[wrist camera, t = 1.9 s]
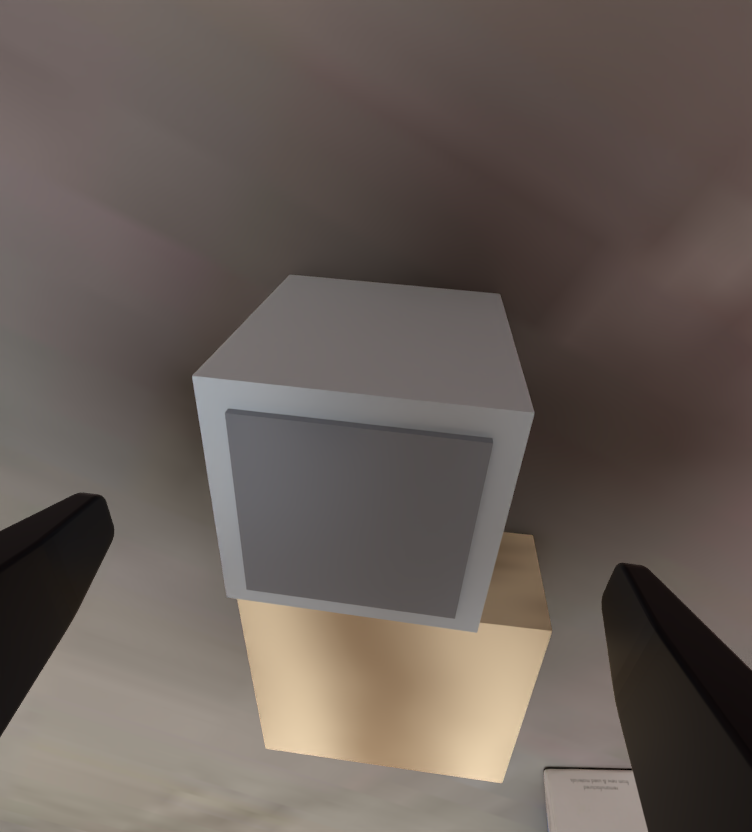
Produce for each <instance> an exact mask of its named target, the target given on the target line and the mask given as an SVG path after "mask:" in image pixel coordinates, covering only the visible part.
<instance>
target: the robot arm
mask: <svg viewBox="0 0 752 832" xmlns="http://www.w3.org/2000/svg"><path fill="white" fill-rule="evenodd" d="M113 537H114V525H113V522H112V519H111V516H110V512H109V509H108V506H107V503H106V500H105V498H104V497H103V496H101V495H98V494H90V493H77V494H74V495H72V496H70V497H68V498H66V499H64V500H62V501H60V502H58V503H56V504H54V505H52V506H50V507H48V508H46V509H44V510H42V511H40V512H38V513H36V514H34V515H32V516H30V517H28V518H26V519H24V520H22V521H20V522H18V523H16V524H14V525H12V526H10V527H8V528H5V529H3V530H1V531H0V737H1V735H2V733H3V732H4V730H5V729H6V727H7V725H8V724H9V722H10V721H11V719H12V717H13V716H14V714H15V713H16V711H17V709H18V708H19V706H20V704H21V703H22V701H23V700H24V698H25V696H26V695H27V693H28V692H29V690H30V688H31V687H32V685H33V684H34V682H35V680H36V679H37V677H38V675H39V674H40V672H41V671H42V669H43V667H44V666H45V664H46V663H47V661H48V659H49V658H50V656H51V655H52V653H53V651H54V650H55V648H56V647H57V645H58V643H59V642H60V640H61V638H62V637H63V635H64V634H65V632H66V630H67V629H68V627H69V625H70V624H71V622H72V620H73V619H74V617H75V615H76V613H77V611H78V609H79V607H80V605H81V603H82V601H83V599H84V597H85V595H86V593H87V591H88V589H89V587H90V585H91V583H92V581H93V579H94V577H95V575H96V573H97V571H98V569H99V567H100V565H101V563H102V561H103V559H104V557H105V555H106V553H107V551H108V549H109V547H110V545H111V542H112V540H113ZM602 613H603V620H604V628H605V635H606V642H607V649H608V656H609V663H610V670H611V677H612V684H613V690H614V696H615V702H616V706H617V710H618V715H619V719H620V723H621V727H622V731H623V735H624V739H625V743H626V747H627V751H628V755H629V758H630V762H631V766H632V770H633V774H634V778H635V782H636V786H637V790H638V794H639V798H640V802H641V806H642V810H643V814H644V818H645V822H646V826H647V830H648V832H752V670H751V669H750V668H749V667H748V666H747V665H746V664H745V663H744V662H743V661H742V660H741V659H740V658H739V657H738V656H737V655H736V654H735V653H734V652H733V651H732V650H731V649H729V648H728V647H727V646H726V645H725V644H724V643H723V642H722V641H721V640H720V639H719V638H718V637H717V636H716V635H715V634H714V633H713V632H712V631H711V630H710V629H709V628H708V627H707V626H706V625H705V624H704V623H703V622H702V621H701V620H700V619H699V618H698V617H697V616H696V615H695V614H694V613H693V612H692V611H691V610H690V609H689V608H688V607H687V606H686V605H685V604H684V603H683V602H682V601H681V600H680V599H679V598H678V597H677V596H676V595H675V594H673V593H672V592H671V591H670V590H669V589H668V588H667V587H666V586H665V585H664V584H663V583H662V582H661V581H660V580H659V579H658V578H657V577H656V576H655V575H654V574H653V573H652V572H651V571H650V570H649V569H648V568H646V567H645V566H642V565H635V564H627V563H619V564H618V565H617V566H616V567H615V569H614V571H613V573H612V575H611V577H610V580H609V582H608V584H607V586H606V589H605V591H604V593H603V596H602Z"/></svg>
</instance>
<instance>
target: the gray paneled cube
mask: <svg viewBox="0 0 752 832" xmlns="http://www.w3.org/2000/svg"><path fill="white" fill-rule="evenodd" d="M192 379H193V385H194V392H195V398H196V404H197V411H198V417H199V424H200V430H201V436H202V443H203V449H204V455H205V462H206V468H207V475H208V481H209V487H210V494H211V500H212V506H213V513H214V519H215V526H216V532H217V538H218V545H219V551H220V557H221V564H222V570H223V577H224V583H225V589H226V596H227V597H228V598H235V599H242V600H249V601H256V602H263V603H270V604H277V605H285V606H292V607H299V608H306V609H313V610H320V611H327V612H334V613H341V614H348V615H355V616H362V617H369V618H376V619H384V620H391V621H398V622H405V623H412V624H419V625H426V626H433V627H440V628H447V629H454V630H461V631H468V632H475V633H477V631H478V627H479V623H480V620H481V616H482V612H483V608H484V604H485V600H486V597H487V593H488V589H489V585H490V581H491V578H492V574H493V570H494V566H495V562H496V558H497V555H498V551H499V547H500V543H501V539H502V536H503V532H504V528H505V524H506V520H507V516H508V513H509V509H510V505H511V501H512V497H513V494H514V490H515V486H516V482H517V478H518V474H519V471H520V467H521V463H522V459H523V455H524V452H525V448H526V444H527V440H528V436H529V432H530V429H531V425H532V421H533V417H534V413H535V412H534V409H533V406H532V402H531V399H530V395H529V392H528V388H527V385H526V381H525V378H524V375H523V371H522V368H521V364H520V361H519V357H518V354H517V350H516V347H515V344H514V340H513V337H512V333H511V330H510V326H509V323H508V319H507V316H506V313H505V309H504V306H503V302H502V299H501V295H500V294H497V293H486V292H475V291H464V290H453V289H442V288H432V287H421V286H410V285H399V284H388V283H377V282H366V281H355V280H344V279H333V278H322V277H312V276H301V275H289V276H288V277H287V278H286V279H285V280H284V281H283V282H282V283H281V284H280V285H279V286H278V287H277V288H276V289H275V290H274V291H273V292H272V293H271V294H270V295H269V296H268V297H267V298H266V299H265V301H264V302H263V303H262V304H261V305H260V306H259V307H258V308H257V309H256V310H255V311H254V312H253V313H252V314H251V315H250V316H249V317H248V318H247V319H246V320H245V321H244V322H243V323H242V324H241V325H240V326H239V328H238V329H237V330H236V331H235V332H234V333H233V334H232V335H231V336H230V337H229V338H228V339H227V340H226V341H225V342H224V343H223V344H222V345H221V346H220V347H219V348H218V349H217V350H216V351H215V352H214V353H213V355H212V356H211V357H210V358H209V359H208V360H207V361H206V362H205V363H204V364H203V365H202V366H201V367H200V368H199V369H198V370H197V371H196V372H195V373H194V374H193V375H192Z"/></svg>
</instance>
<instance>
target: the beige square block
mask: <svg viewBox="0 0 752 832" xmlns="http://www.w3.org/2000/svg"><path fill="white" fill-rule="evenodd" d="M237 601H238V606H239V611H240V617H241V622H242V627H243V632H244V638H245V643H246V648H247V653H248V659H249V664H250V669H251V674H252V680H253V685H254V690H255V695H256V701H257V706H258V711H259V716H260V722H261V727H262V732H263V737H264V743H265V748H266V749H272V750H279V751H286V752H293V753H299V754H306V755H313V756H320V757H327V758H334V759H340V760H347V761H354V762H361V763H368V764H374V765H381V766H388V767H395V768H402V769H408V770H415V771H422V772H429V773H436V774H442V775H449V776H456V777H463V778H470V779H477V780H483V781H490V782H497V783H502V782H503V779H504V776H505V773H506V770H507V767H508V764H509V761H510V758H511V755H512V752H513V749H514V746H515V743H516V740H517V737H518V734H519V731H520V727H521V724H522V721H523V718H524V715H525V712H526V709H527V706H528V703H529V700H530V697H531V694H532V691H533V688H534V685H535V682H536V679H537V676H538V673H539V670H540V667H541V664H542V661H543V658H544V655H545V652H546V649H547V646H548V643H549V640H550V637H551V633H552V627H551V622H550V617H549V613H548V608H547V603H546V598H545V593H544V588H543V583H542V578H541V573H540V568H539V563H538V558H537V553H536V548H535V543H534V538H533V535H527V534H517V533H507V532H503V536H502V539H501V543H500V547H499V551H498V555H497V558H496V562H495V566H494V570H493V574H492V578H491V581H490V585H489V589H488V593H487V597H486V600H485V604H484V608H483V612H482V616H481V620H480V623H479V627H478V631H477V633H475V632H468V631H461V630H454V629H447V628H440V627H433V626H426V625H419V624H412V623H405V622H398V621H391V620H384V619H376V618H369V617H362V616H355V615H348V614H341V613H334V612H327V611H320V610H313V609H306V608H299V607H292V606H285V605H277V604H270V603H263V602H256V601H249V600H242V599H237Z"/></svg>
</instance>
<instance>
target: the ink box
mask: <svg viewBox="0 0 752 832" xmlns="http://www.w3.org/2000/svg"><path fill="white" fill-rule="evenodd" d="M544 784H545V799H546V811H547V824H548V832H648V830H647V826H646V822H645V818H644V814H643V810H642V806H641V802H640V798H639V794H638V790H637V786H636V782H635V778H634V774H633V770H589V769H545V770H544Z"/></svg>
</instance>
